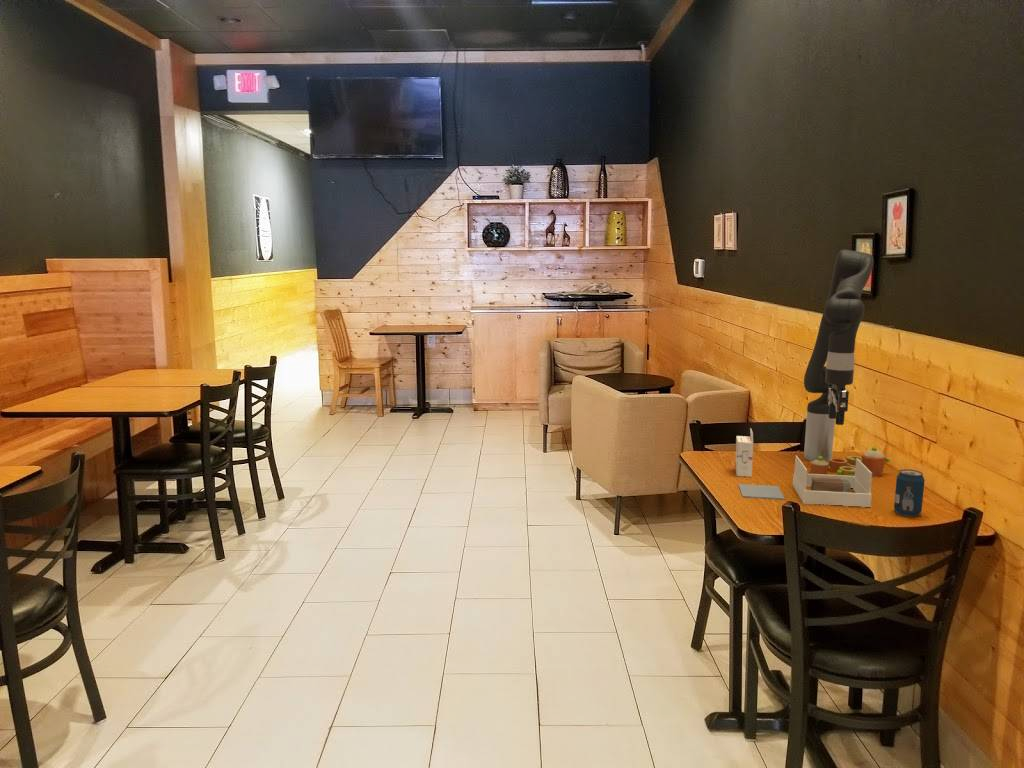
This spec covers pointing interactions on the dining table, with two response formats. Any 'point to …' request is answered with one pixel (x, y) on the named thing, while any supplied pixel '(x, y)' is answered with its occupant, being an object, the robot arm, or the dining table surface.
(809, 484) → the carton
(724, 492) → the dining table surface
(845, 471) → the toy tea set
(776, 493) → the mat
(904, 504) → the soda can
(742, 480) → the dining table surface
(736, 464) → the ink cartridge box
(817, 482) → the box
